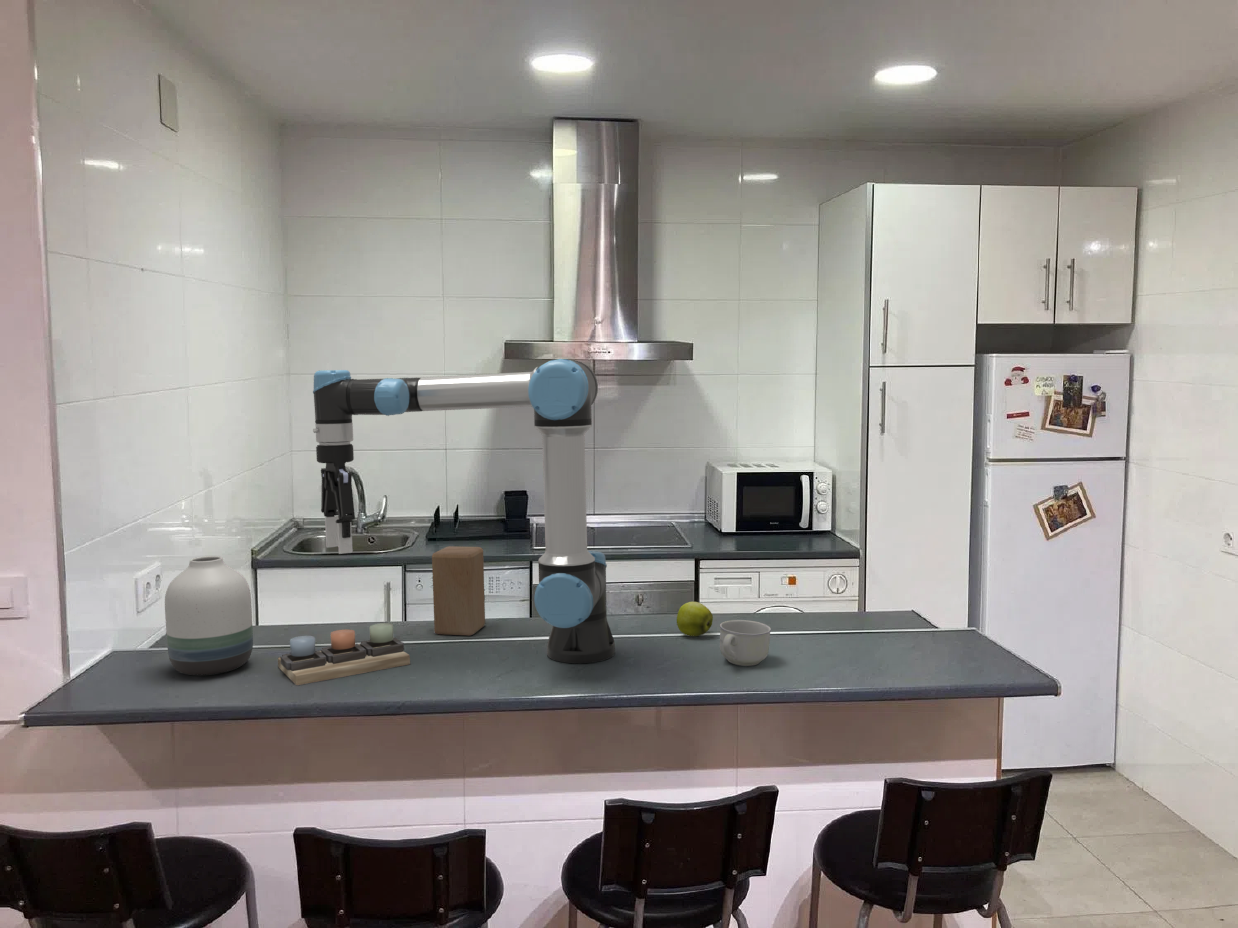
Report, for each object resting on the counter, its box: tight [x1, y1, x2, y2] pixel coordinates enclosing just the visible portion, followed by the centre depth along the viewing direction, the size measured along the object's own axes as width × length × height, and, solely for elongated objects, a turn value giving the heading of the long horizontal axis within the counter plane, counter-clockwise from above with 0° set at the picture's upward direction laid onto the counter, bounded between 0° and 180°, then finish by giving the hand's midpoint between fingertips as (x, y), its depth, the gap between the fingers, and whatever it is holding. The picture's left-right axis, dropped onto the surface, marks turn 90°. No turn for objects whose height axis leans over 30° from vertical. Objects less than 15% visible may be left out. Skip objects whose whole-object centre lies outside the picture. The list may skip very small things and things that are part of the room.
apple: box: [676, 601, 714, 637], centre depth 225 cm, size 8×9×8 cm
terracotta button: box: [330, 628, 356, 650], centre depth 206 cm, size 5×5×3 cm
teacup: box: [719, 619, 772, 667], centre depth 203 cm, size 14×11×8 cm
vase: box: [164, 555, 254, 676], centre depth 204 cm, size 17×17×24 cm
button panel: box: [277, 637, 411, 686], centre depth 206 cm, size 15×25×4 cm, turn 123°
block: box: [431, 545, 486, 637], centre depth 232 cm, size 10×10×20 cm
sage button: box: [369, 622, 394, 643], centre depth 210 cm, size 5×5×3 cm
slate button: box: [289, 635, 317, 656], centre depth 201 cm, size 5×5×3 cm
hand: (339, 549), depth 204 cm, fingers open, 8 cm apart
